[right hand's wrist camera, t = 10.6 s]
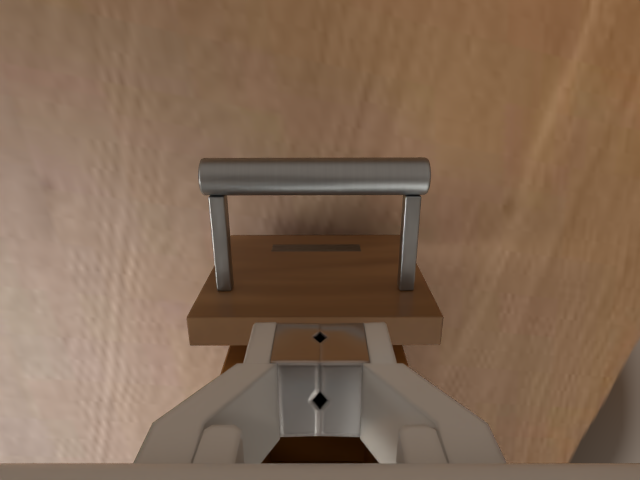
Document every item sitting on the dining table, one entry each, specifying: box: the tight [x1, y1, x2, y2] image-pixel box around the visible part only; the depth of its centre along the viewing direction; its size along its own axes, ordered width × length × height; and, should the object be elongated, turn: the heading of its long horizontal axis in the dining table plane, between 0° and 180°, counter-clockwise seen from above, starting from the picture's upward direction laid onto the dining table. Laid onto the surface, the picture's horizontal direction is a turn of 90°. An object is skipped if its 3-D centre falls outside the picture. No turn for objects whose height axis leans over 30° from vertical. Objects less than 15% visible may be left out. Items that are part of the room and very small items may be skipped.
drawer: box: [187, 158, 443, 463], centre depth 22 cm, size 21×9×9 cm, turn 0°
